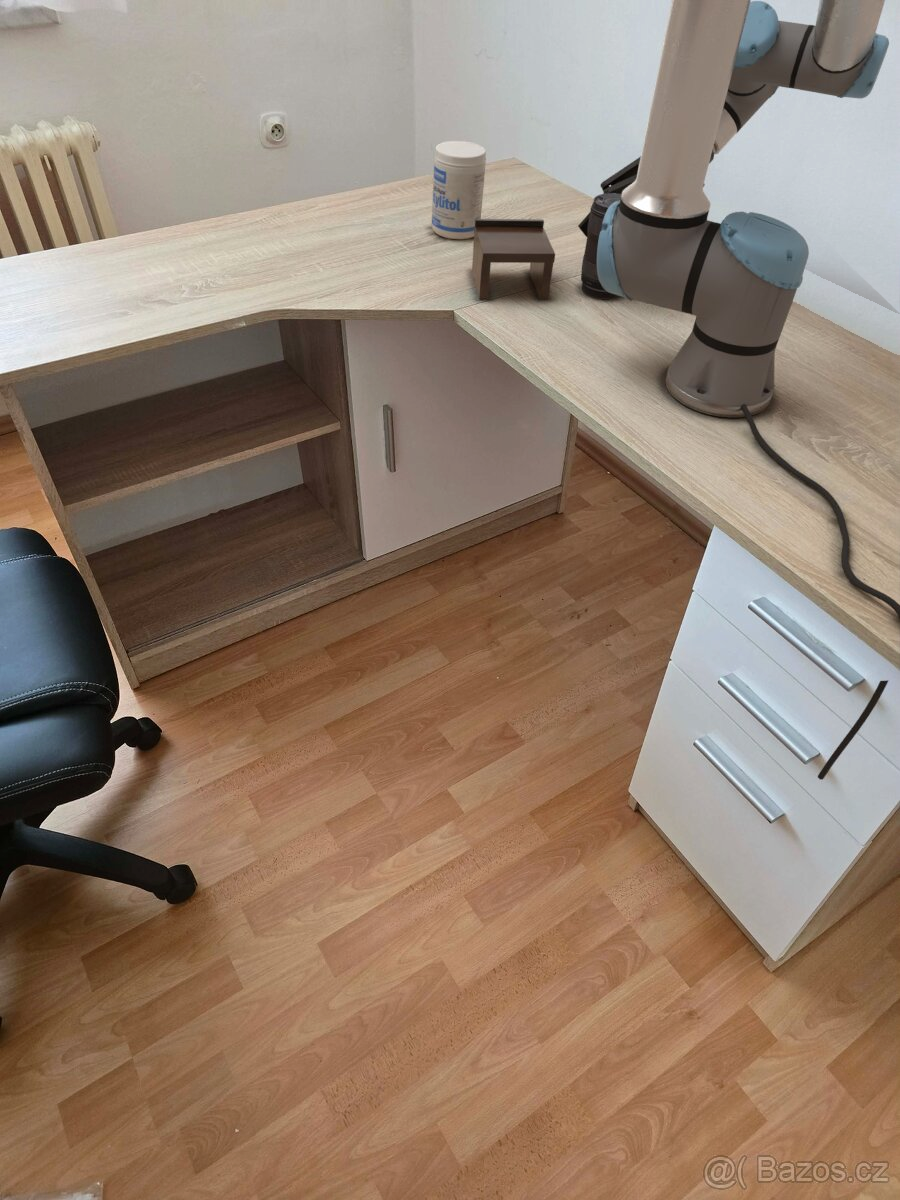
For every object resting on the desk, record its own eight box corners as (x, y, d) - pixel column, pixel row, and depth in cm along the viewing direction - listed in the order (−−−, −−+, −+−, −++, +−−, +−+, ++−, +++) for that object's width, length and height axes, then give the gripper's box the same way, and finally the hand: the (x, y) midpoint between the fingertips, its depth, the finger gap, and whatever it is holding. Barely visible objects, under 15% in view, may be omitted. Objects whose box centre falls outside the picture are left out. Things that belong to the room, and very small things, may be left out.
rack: (548, 301, 134) (556, 247, 128) (479, 301, 133) (483, 247, 126) (536, 270, 142) (543, 219, 136) (471, 270, 141) (474, 218, 135)
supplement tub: (424, 235, 151) (425, 151, 141) (441, 218, 158) (444, 137, 147) (471, 244, 149) (476, 160, 139) (487, 227, 156) (493, 145, 145)
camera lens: (622, 282, 140) (640, 193, 130) (624, 302, 135) (644, 211, 124) (577, 278, 141) (591, 189, 130) (577, 298, 135) (593, 207, 124)
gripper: (758, 181, 121) (656, 291, 127) (663, 133, 137) (576, 233, 143) (742, 146, 116) (636, 263, 122) (644, 100, 131) (555, 205, 137)
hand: (603, 247), depth 132 cm, fingers open, 13 cm apart
